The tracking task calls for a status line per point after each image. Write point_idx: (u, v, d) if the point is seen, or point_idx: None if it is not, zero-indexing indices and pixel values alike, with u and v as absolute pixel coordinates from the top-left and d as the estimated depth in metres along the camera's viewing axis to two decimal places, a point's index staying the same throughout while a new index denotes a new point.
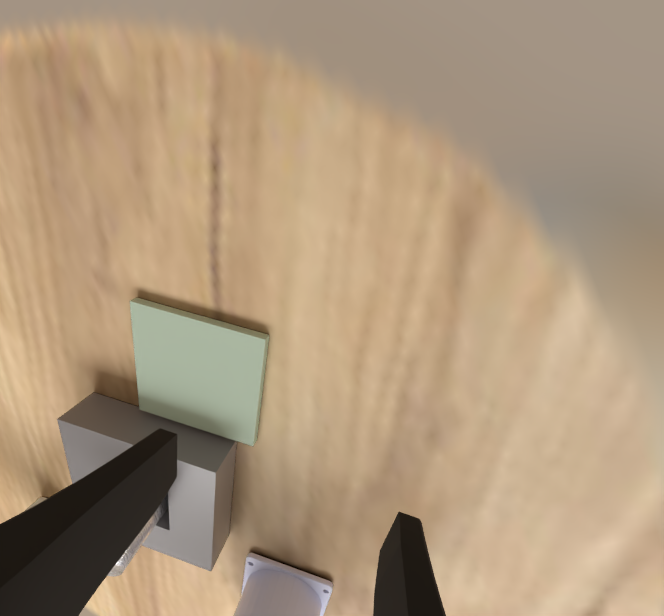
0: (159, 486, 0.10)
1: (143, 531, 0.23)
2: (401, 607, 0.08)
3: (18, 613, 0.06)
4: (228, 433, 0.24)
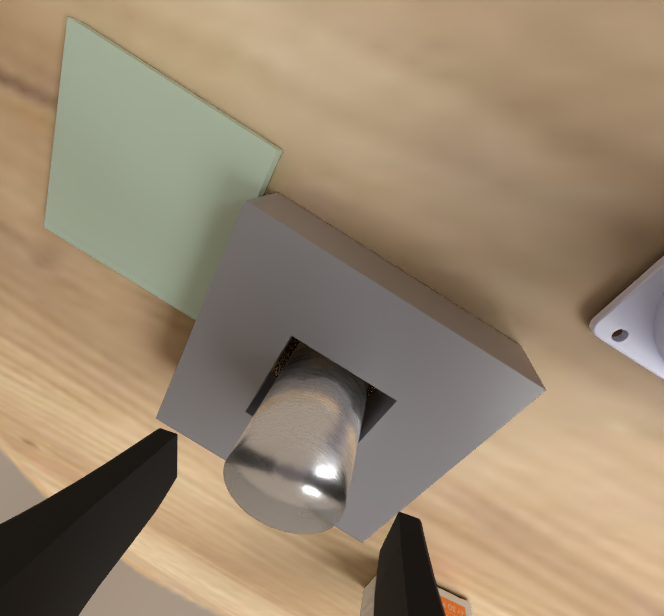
0: (159, 486, 0.10)
1: (312, 402, 0.11)
2: (401, 607, 0.08)
3: (18, 613, 0.06)
4: (247, 189, 0.13)
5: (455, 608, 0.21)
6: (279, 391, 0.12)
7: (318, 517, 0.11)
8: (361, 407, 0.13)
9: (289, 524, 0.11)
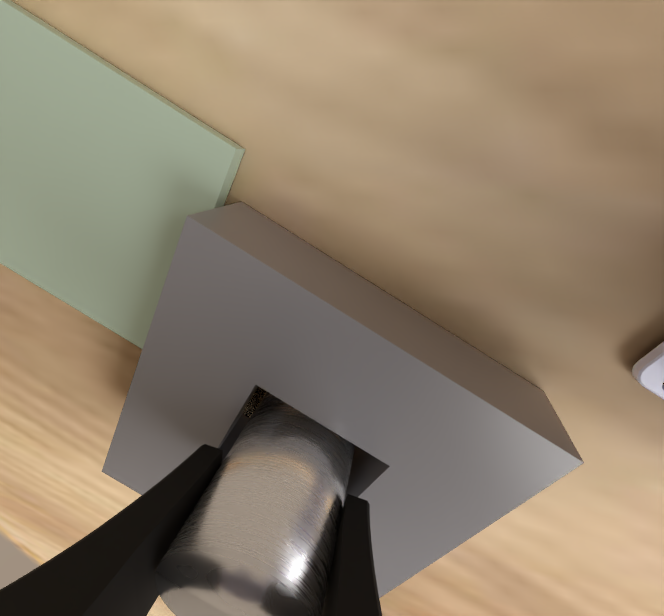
0: None
1: (276, 481, 0.09)
2: (336, 582, 0.08)
3: None
4: (201, 198, 0.11)
5: None
6: (237, 460, 0.09)
7: None
8: (345, 473, 0.11)
9: None
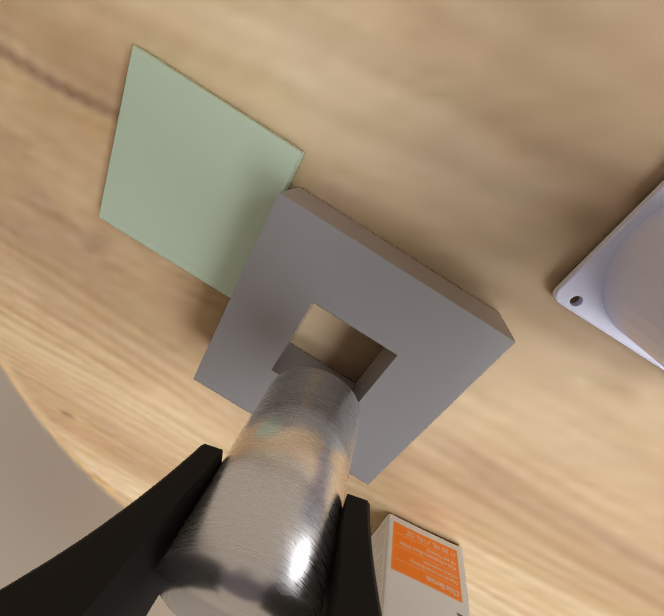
0: None
1: (276, 481, 0.09)
2: (336, 582, 0.08)
3: None
4: (275, 184, 0.16)
5: (448, 551, 0.24)
6: (237, 459, 0.09)
7: None
8: (344, 472, 0.11)
9: None
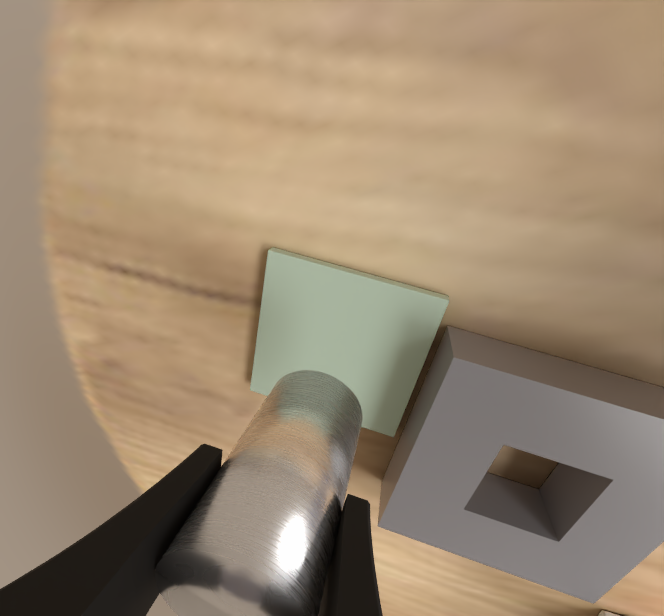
0: None
1: (272, 482, 0.09)
2: (336, 582, 0.08)
3: None
4: (425, 332, 0.17)
5: None
6: (236, 461, 0.10)
7: None
8: (344, 474, 0.11)
9: None
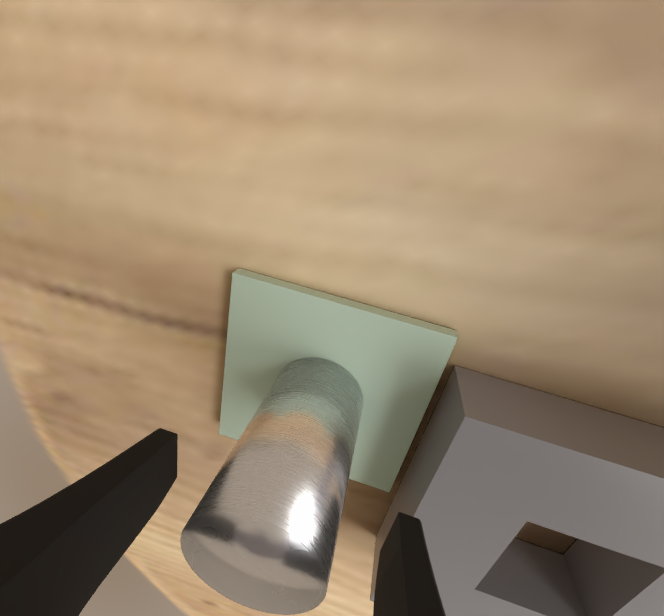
0: (159, 486, 0.10)
1: (286, 454, 0.10)
2: (401, 607, 0.08)
3: (18, 613, 0.06)
4: (428, 374, 0.13)
5: None
6: (250, 438, 0.10)
7: (295, 597, 0.09)
8: (349, 450, 0.11)
9: (264, 603, 0.09)
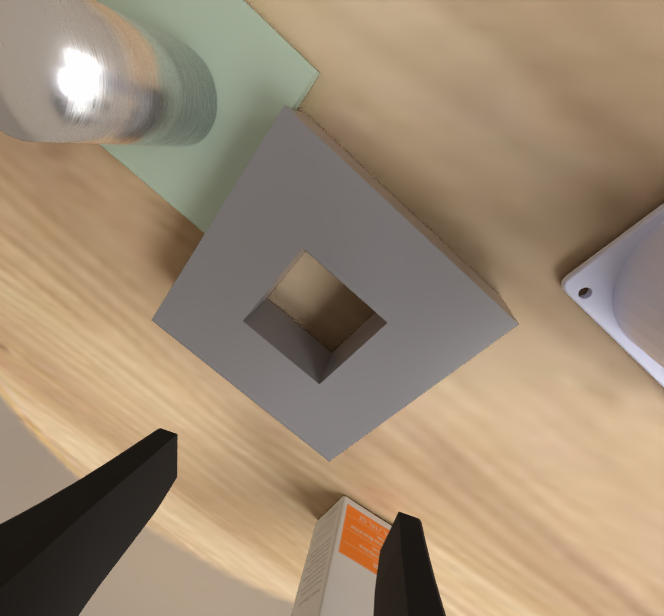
0: (159, 486, 0.10)
1: (91, 2, 0.09)
2: (401, 607, 0.08)
3: (18, 613, 0.06)
4: (280, 105, 0.14)
5: None
6: None
7: (43, 112, 0.09)
8: (169, 92, 0.12)
9: (11, 120, 0.09)
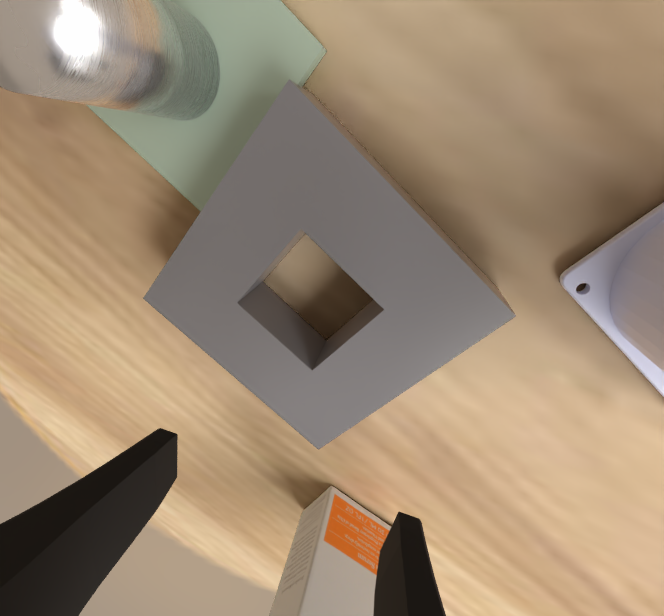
0: (159, 486, 0.10)
1: None
2: (401, 607, 0.08)
3: (18, 613, 0.06)
4: (284, 82, 0.14)
5: (384, 532, 0.23)
6: None
7: (36, 62, 0.09)
8: (171, 58, 0.11)
9: (1, 69, 0.09)
